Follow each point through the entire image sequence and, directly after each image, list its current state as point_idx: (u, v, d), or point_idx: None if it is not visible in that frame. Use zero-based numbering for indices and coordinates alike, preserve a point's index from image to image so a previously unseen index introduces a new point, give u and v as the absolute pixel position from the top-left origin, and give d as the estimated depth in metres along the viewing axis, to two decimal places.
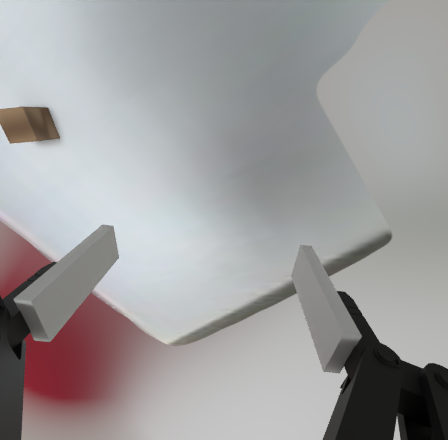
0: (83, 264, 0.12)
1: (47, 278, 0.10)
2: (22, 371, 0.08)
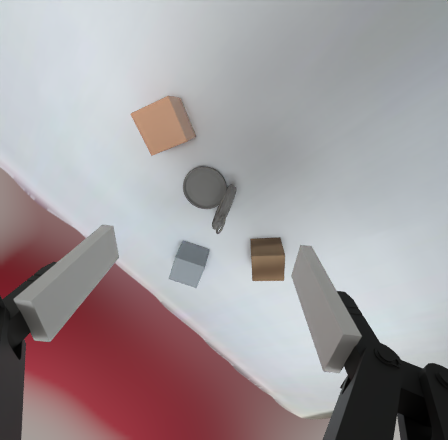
0: (83, 264, 0.12)
1: (47, 278, 0.10)
2: (22, 371, 0.08)
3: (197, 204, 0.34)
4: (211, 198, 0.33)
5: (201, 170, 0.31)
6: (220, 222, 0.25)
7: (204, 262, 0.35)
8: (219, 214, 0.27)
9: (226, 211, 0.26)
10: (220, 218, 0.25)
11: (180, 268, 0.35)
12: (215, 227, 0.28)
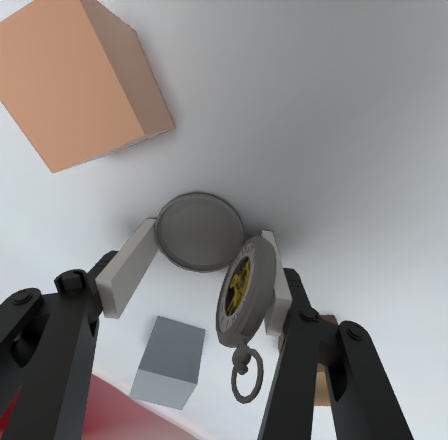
0: (138, 252, 0.13)
1: (116, 263, 0.11)
2: (93, 348, 0.10)
3: (184, 262, 0.17)
4: (212, 252, 0.17)
5: (192, 200, 0.15)
6: (244, 367, 0.09)
7: (196, 369, 0.18)
8: (238, 328, 0.10)
9: (257, 322, 0.10)
10: (244, 353, 0.09)
11: (149, 384, 0.18)
12: (225, 345, 0.12)
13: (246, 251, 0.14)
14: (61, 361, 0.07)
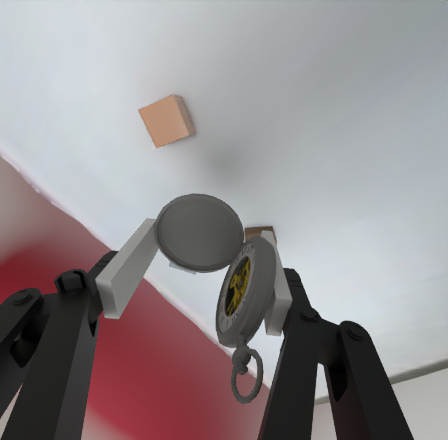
0: (138, 252, 0.13)
1: (116, 263, 0.11)
2: (93, 348, 0.10)
3: (184, 263, 0.17)
4: (212, 252, 0.17)
5: (192, 200, 0.15)
6: (244, 367, 0.09)
7: None
8: (238, 328, 0.10)
9: (257, 322, 0.10)
10: (244, 354, 0.09)
11: None
12: (225, 345, 0.12)
13: (246, 251, 0.14)
14: (61, 361, 0.07)
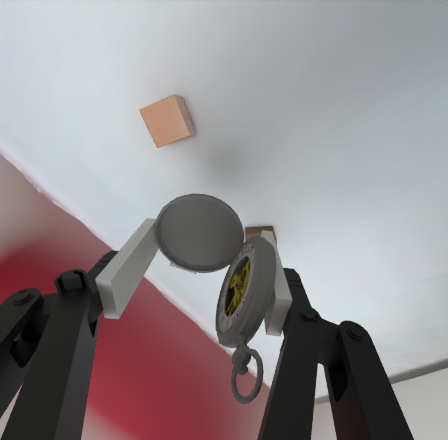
0: (139, 252, 0.13)
1: (116, 263, 0.11)
2: (94, 348, 0.10)
3: (184, 263, 0.17)
4: (212, 252, 0.17)
5: (192, 200, 0.15)
6: (244, 367, 0.09)
7: None
8: (238, 328, 0.10)
9: (257, 322, 0.10)
10: (244, 354, 0.09)
11: None
12: (225, 345, 0.12)
13: (246, 251, 0.14)
14: (61, 361, 0.07)
